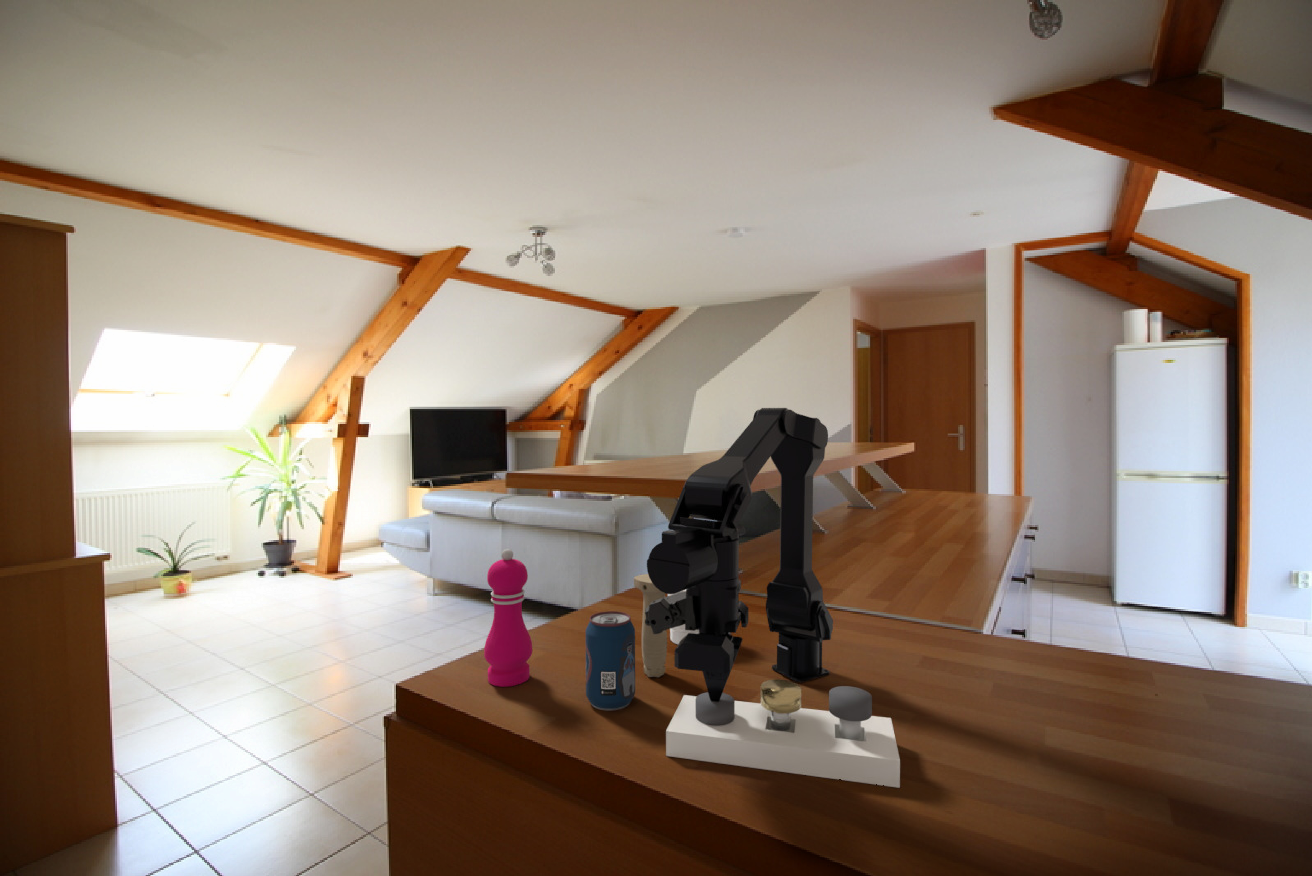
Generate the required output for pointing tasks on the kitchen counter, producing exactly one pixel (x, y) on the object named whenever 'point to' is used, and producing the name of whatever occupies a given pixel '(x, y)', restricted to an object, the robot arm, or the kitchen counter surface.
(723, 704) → the knob
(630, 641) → the soda can
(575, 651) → the kitchen counter surface
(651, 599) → the handle
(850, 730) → the knob
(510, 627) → the pepper mill
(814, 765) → the control plate
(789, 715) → the knob middle
